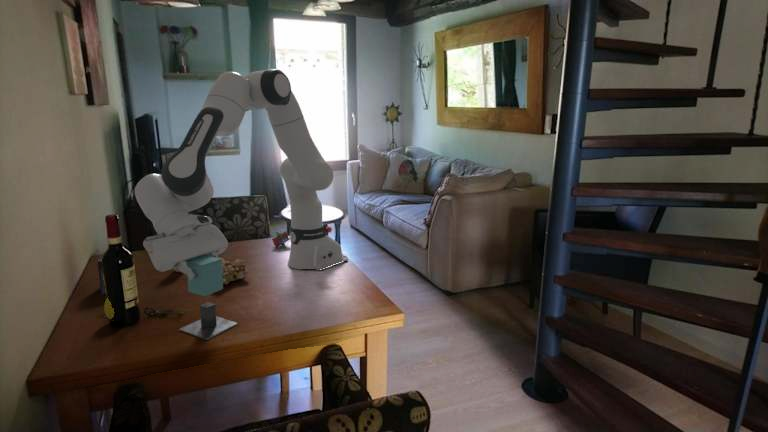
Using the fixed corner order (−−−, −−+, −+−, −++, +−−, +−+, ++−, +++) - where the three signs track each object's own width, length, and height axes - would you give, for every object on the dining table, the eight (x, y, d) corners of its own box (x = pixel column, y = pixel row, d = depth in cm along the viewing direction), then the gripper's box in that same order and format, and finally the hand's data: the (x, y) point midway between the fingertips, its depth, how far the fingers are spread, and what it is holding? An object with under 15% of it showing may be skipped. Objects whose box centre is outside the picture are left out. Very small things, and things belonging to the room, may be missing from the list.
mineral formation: (218, 291, 143) (191, 277, 152) (253, 285, 154) (226, 273, 163) (221, 266, 142) (194, 253, 151) (256, 262, 153) (229, 250, 162)
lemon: (112, 317, 124) (109, 289, 122) (133, 316, 125) (130, 288, 123) (101, 326, 119) (98, 297, 117) (124, 326, 119) (121, 297, 118)
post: (211, 315, 126) (209, 294, 125) (237, 324, 122) (236, 302, 120) (179, 330, 118) (177, 307, 116) (206, 340, 113) (205, 316, 112)
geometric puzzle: (272, 246, 184) (283, 228, 186) (265, 242, 189) (275, 225, 191) (286, 253, 189) (296, 236, 190) (278, 249, 194) (288, 233, 196)
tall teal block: (207, 284, 121) (205, 255, 119) (223, 288, 118) (221, 258, 117) (188, 291, 116) (186, 261, 114) (204, 296, 113) (202, 265, 112)
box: (122, 292, 141) (118, 258, 139) (100, 295, 139) (96, 261, 136) (123, 283, 148) (120, 251, 146) (103, 286, 146) (99, 253, 143)
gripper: (144, 231, 108) (176, 279, 106) (214, 215, 126) (242, 256, 123) (134, 246, 111) (164, 293, 109) (204, 229, 129) (231, 269, 126)
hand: (206, 273), depth 116 cm, fingers closed on tall teal block, 6 cm apart
